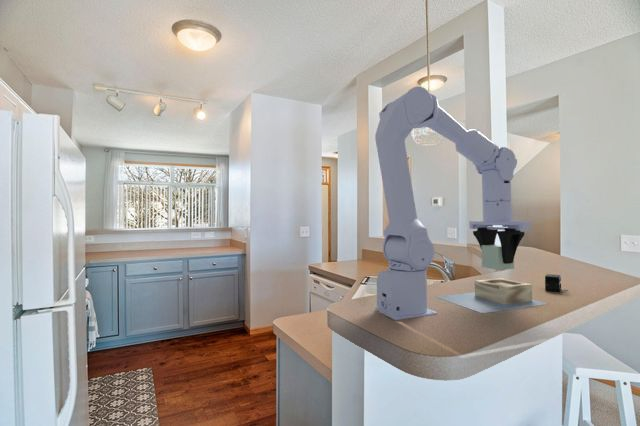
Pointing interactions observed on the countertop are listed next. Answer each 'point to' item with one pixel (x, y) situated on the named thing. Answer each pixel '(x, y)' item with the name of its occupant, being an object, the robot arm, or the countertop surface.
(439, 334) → the countertop surface
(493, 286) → the base brick
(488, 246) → the green brick
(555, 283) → the black box
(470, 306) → the mat
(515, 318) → the countertop surface
